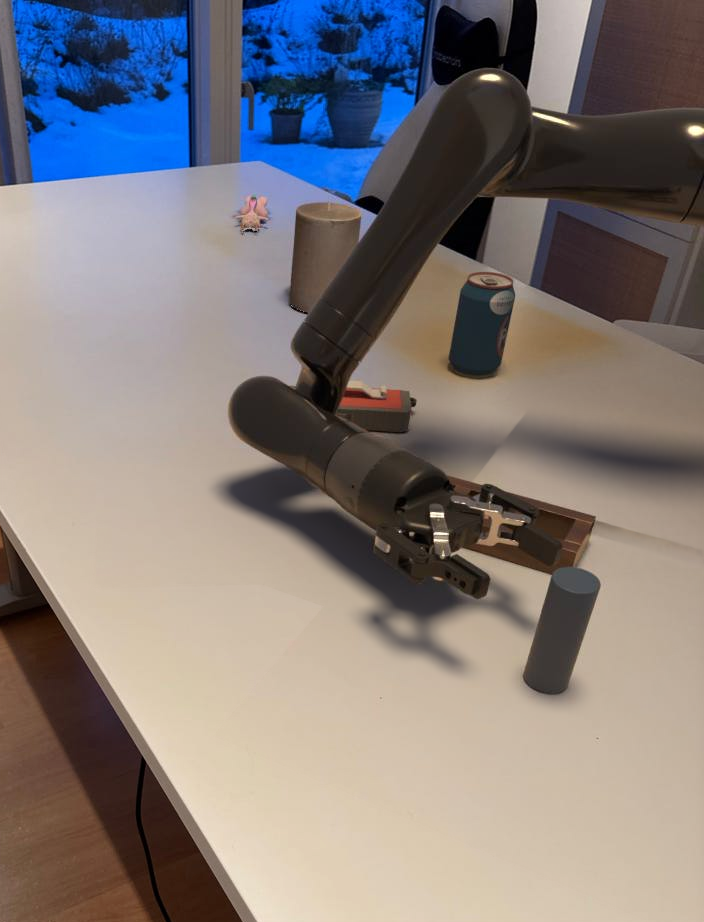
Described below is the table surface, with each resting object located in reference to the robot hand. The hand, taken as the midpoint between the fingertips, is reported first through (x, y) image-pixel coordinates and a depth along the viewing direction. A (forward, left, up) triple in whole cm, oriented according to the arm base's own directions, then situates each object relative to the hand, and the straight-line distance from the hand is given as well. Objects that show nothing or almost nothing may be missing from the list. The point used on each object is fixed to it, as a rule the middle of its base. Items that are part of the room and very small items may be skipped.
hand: (522, 572), depth 77 cm
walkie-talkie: (+32, -34, -8) cm, 47 cm away
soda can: (+22, -57, -8) cm, 61 cm away
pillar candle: (+50, -68, -8) cm, 85 cm away
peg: (-4, +2, -8) cm, 9 cm away
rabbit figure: (+80, -101, -8) cm, 129 cm away
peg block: (+8, -18, -8) cm, 21 cm away
